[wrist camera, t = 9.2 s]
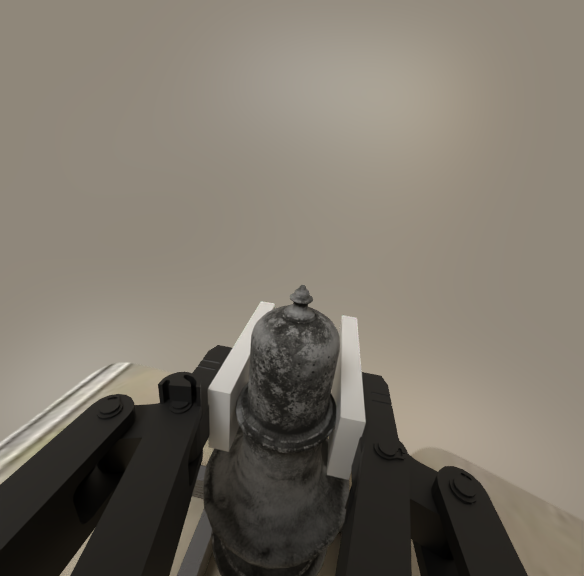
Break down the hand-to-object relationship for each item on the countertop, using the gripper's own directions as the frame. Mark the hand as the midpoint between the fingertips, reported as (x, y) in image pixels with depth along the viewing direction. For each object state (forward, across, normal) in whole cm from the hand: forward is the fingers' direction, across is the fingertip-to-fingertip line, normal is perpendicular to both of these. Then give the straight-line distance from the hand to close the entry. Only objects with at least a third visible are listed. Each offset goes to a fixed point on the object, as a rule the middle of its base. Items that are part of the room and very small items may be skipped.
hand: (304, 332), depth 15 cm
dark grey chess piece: (-5, 0, -7) cm, 9 cm away
